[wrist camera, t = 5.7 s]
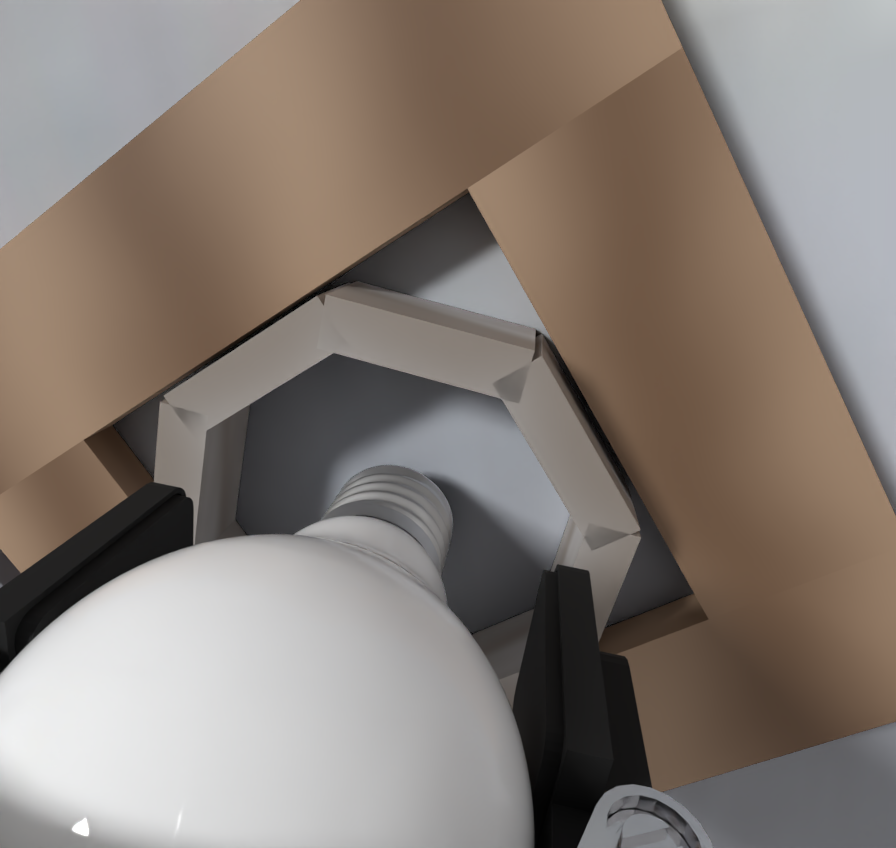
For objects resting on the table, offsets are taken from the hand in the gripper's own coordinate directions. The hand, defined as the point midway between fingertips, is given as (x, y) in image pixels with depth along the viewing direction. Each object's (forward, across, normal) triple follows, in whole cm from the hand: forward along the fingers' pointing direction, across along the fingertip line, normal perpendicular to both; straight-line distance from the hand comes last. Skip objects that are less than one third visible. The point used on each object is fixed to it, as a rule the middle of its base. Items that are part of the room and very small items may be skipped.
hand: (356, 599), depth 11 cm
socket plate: (+4, 0, 0) cm, 4 cm away
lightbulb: (+4, 0, 0) cm, 4 cm away
